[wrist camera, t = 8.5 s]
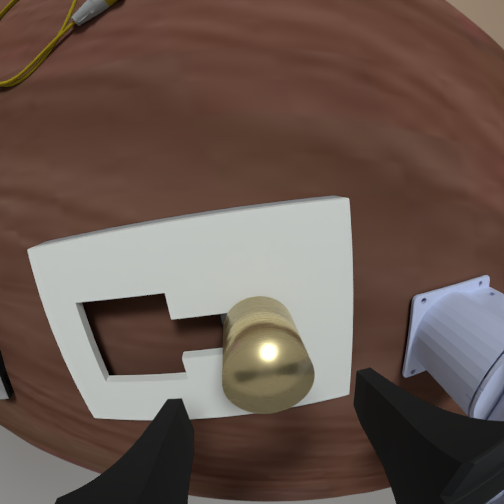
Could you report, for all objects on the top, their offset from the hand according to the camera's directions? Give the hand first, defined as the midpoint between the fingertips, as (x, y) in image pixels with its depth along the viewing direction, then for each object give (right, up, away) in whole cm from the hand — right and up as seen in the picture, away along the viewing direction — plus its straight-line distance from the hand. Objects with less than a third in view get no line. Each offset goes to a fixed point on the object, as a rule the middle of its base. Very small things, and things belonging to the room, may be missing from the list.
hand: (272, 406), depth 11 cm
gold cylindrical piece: (-1, +3, +9) cm, 9 cm away
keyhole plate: (-5, +2, +9) cm, 10 cm away
